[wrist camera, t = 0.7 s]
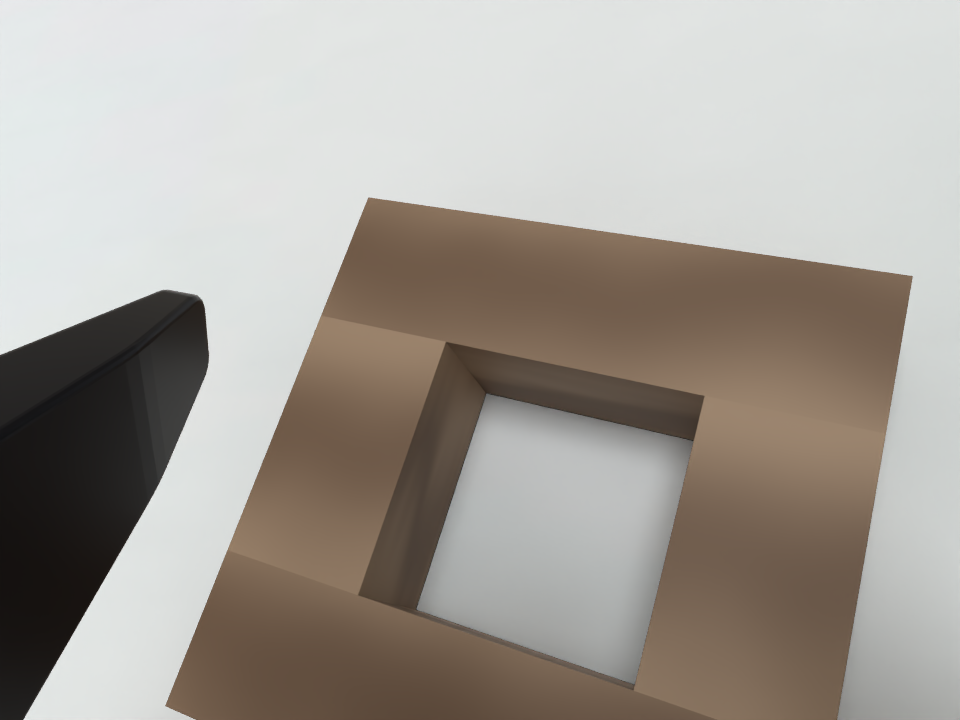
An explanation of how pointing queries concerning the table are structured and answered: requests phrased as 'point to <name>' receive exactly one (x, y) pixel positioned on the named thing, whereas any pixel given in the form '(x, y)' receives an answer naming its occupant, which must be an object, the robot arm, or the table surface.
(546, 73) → the table surface
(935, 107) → the table surface
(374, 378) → the socket block
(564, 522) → the table surface
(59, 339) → the robot arm
